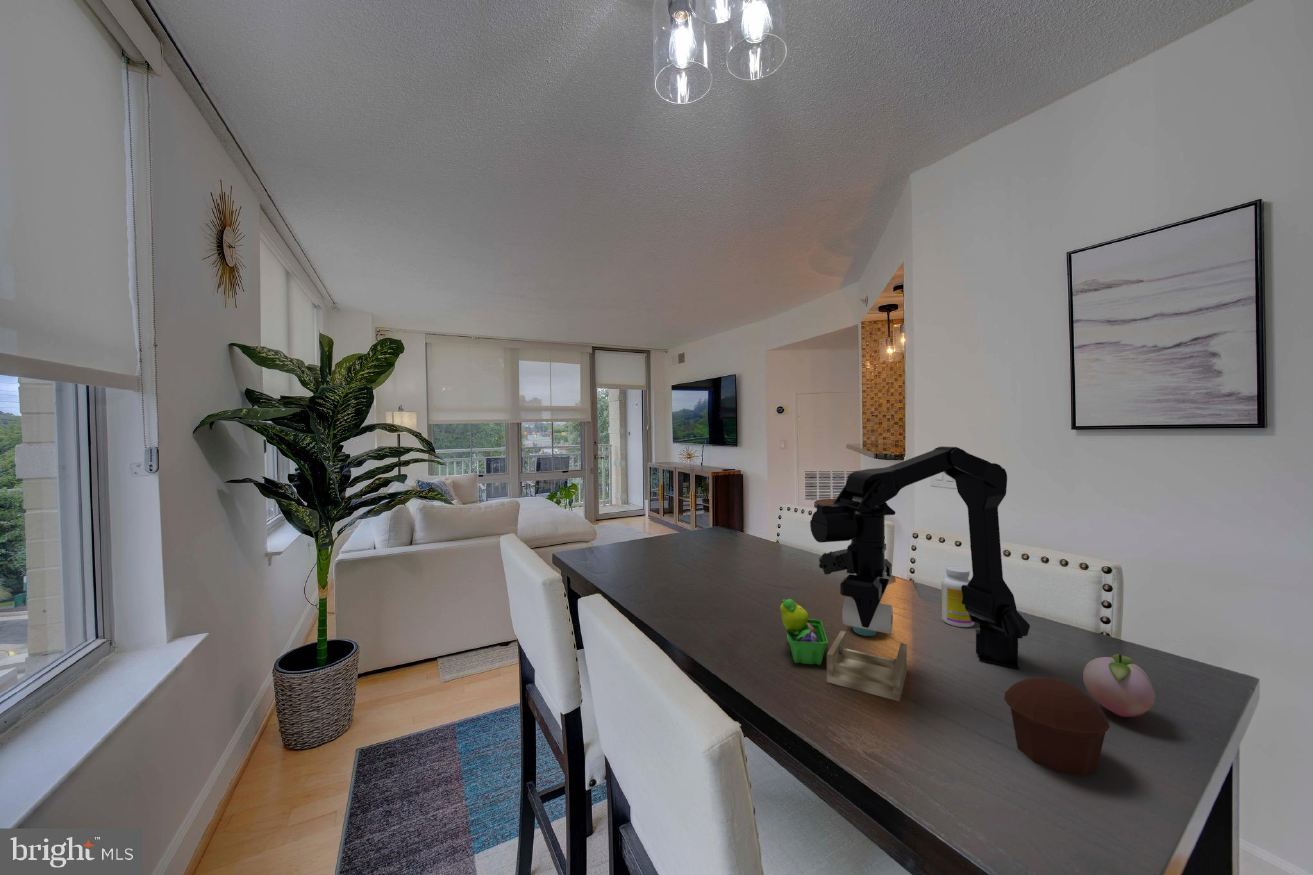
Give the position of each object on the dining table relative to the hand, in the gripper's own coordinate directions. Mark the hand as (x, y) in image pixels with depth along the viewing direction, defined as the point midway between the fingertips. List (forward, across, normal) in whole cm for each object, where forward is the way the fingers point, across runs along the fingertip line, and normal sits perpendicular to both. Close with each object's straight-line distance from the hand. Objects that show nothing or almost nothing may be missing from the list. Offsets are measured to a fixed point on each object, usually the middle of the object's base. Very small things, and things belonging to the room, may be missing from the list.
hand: (867, 622), depth 90 cm
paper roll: (+1, 0, 0) cm, 1 cm away
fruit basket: (+11, -3, -13) cm, 17 cm away
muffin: (+10, +9, +26) cm, 29 cm away
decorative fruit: (+10, -8, +36) cm, 38 cm away
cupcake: (+10, -21, -4) cm, 24 cm away
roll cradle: (+10, 0, 0) cm, 10 cm away
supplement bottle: (+11, -38, +14) cm, 42 cm away
